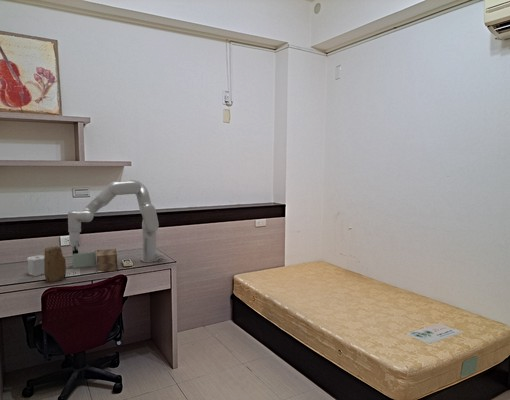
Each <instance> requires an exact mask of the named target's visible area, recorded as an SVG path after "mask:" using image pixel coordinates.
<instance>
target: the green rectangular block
mask: <svg viewBox="0 0 510 400" xmlns="http://www.w3.org/2000/svg"><path fill="white" fill-rule="evenodd" d="M91 266H97V250H94V251H89V252H78V253H77V254H73V253H72V268H73V269H75V268H76V269H77V268H81V267H82V268H83V267H91Z"/></svg>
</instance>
